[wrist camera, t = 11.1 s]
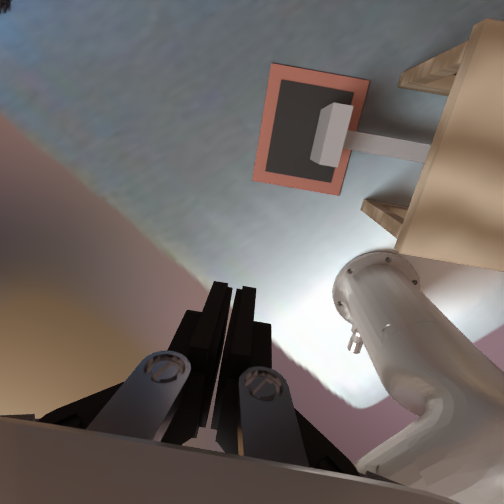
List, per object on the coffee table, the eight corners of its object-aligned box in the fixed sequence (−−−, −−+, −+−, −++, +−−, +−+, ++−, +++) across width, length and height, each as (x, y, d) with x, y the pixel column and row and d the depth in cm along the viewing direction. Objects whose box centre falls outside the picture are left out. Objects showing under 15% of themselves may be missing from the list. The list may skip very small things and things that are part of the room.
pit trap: (338, 195, 42) (339, 195, 41) (252, 180, 42) (252, 180, 41) (369, 81, 37) (369, 80, 36) (271, 63, 37) (271, 63, 36)
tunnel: (435, 230, 43) (513, 273, 29) (358, 216, 42) (400, 253, 29) (495, 80, 36) (632, 44, 22) (404, 63, 36) (486, 18, 22)
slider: (570, 229, 41) (637, 250, 34) (304, 183, 41) (312, 193, 33) (624, 134, 37) (715, 133, 29) (327, 81, 36) (342, 66, 29)
